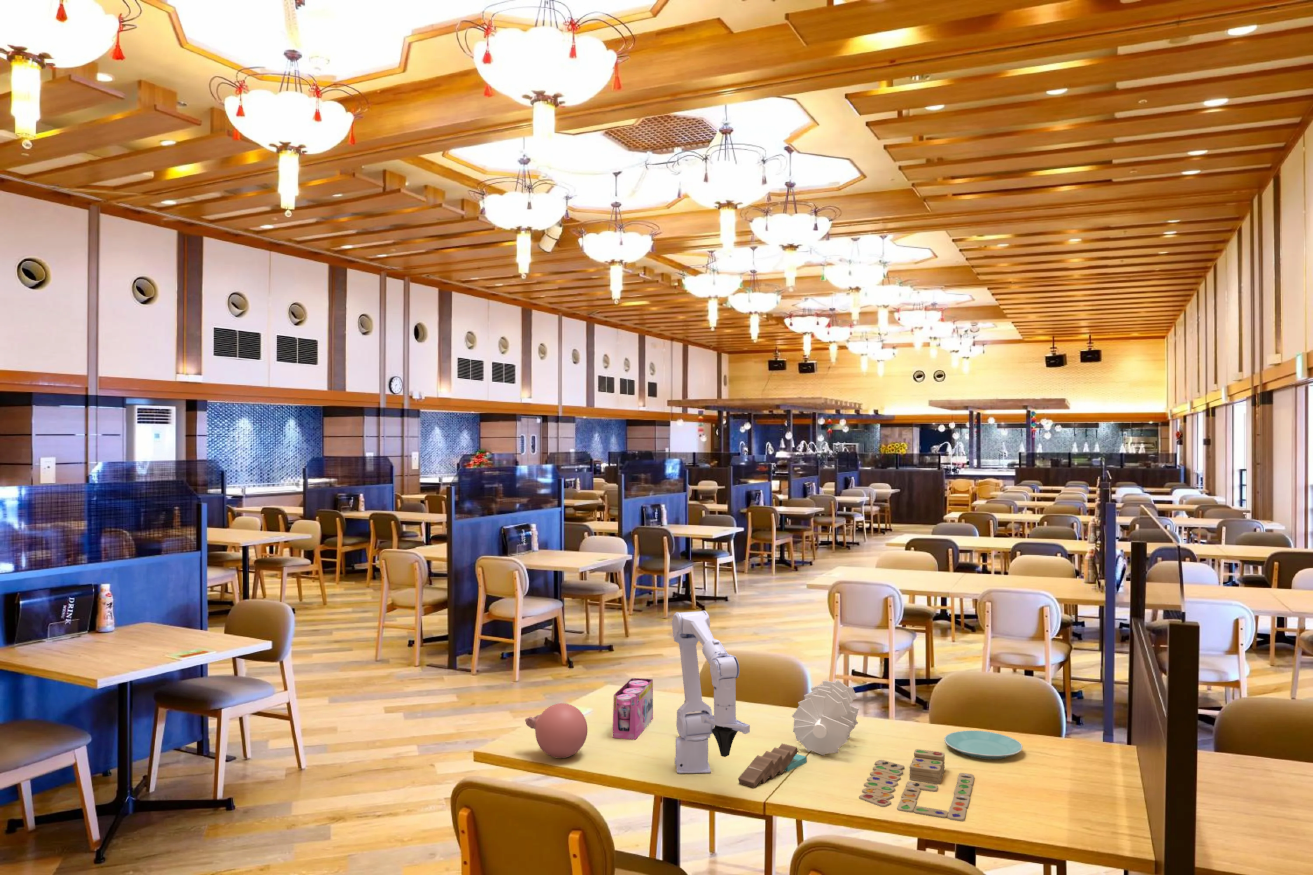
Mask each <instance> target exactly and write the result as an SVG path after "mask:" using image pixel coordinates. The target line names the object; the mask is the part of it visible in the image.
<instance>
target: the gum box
mask: <svg viewBox="0 0 1313 875" xmlns="http://www.w3.org/2000/svg"><path fill="white" fill-rule="evenodd" d="M612 706H613V707H612V708H613V709H612V710H613V711H612V738H614V739H621V738H623V740H624V739H625V740H633V739H634V741H635V740H636V739H637V738H638V737H639V736H640V735H641V733H643V731H644V730H646V728H647V727H648V726H649V725H650V724H649V723H651V722H652V721H653V720H654V682H653V678H638V677H637V678H635V677H631V678H630V679H629V680H628V681H627V682H626V683H625V684H624V685H622V687H620V688H619V689H618V690H617V691H616V692H615V693H613V704H612ZM652 719H653V720H652ZM651 720H652V721H651ZM647 725H648V726H647Z"/></svg>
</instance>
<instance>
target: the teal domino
mask: <svg viewBox="0 0 1313 875" xmlns="http://www.w3.org/2000/svg"><path fill="white" fill-rule="evenodd" d="M807 757H808V756H805V755H802V754H799V753H797V754H796V755H795V756H794V758H793V759H792V761H791V762H790V763H789V765H788V766H787V767H786V769H785V770H784V771H783V772H787V773H788V772H790V771H791V770H795V769H796V768H798V767H800V766H802V765H804V764H806V763H807V761H808V759H807Z"/></svg>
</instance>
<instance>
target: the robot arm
mask: <svg viewBox="0 0 1313 875" xmlns="http://www.w3.org/2000/svg"><path fill="white" fill-rule="evenodd" d="M671 627H672V637H673V641H674V642H675V643H677V644H678V646H679V654H680V664H681V674H682V683H683V692H684V701H685V703H684V702H683V704H682V705H681V706H680V707H678V709H677V710H676V721H675V722H676V725H675V726H676V730H677V731H676V732H677V733H678V736H677V737H675V757H674V764H675V768H676V772H677V774H701V773H702V774H704V773H705V774H708V773H709V774H710V773H712V770H711V766H710V763H709V738H711V735H713V736H714V738H715V740H716V743H717V746H718V750H719V753H720V756H721V757H723V758H726V757H729V756H730V754H731V750H732V749H731V748H732V745H733V741H734V740H735V737H736V736H737V734H738V732H739V733H742V735H743V734H744V735H746V734H749V733H750V732H751V726H750V725H751V724H747V723H745V722H743V721H741V720H738V719H737V717H736V715H737V713H736V712H737V711H736V710H737V708H736V706H737V705H736V702H737V701H736V697H737V695H736V694H737V692H736V691H737V690H736V687H737V686H736V685H737V684H736V683H737V680H736V679H738V678H739V677H740V668H741V667H740V663H739V660H738V658H737V656H736V655H732V654H729V653H728V652H727V650H726V648H725V646H724V645H723V643H722V642H721V641H720V640H719V639H717V638H715V637H714V635H713V633H712V631H711V628H710V627H711V620H710V615H709V613H708V612H707V611H706V610H699V611H685V612H684V611H683V612H679V611H676V612H675V613H674V614H673V615H672V619H671ZM698 643H700V644H701V645H702V649H701V650H702V654H703V656H704V658H705V659H706V661H707V662H708V664H709V672H710V675H711V684H712V686H713V711H712V708H711V706H710V705H709V704H707V703H705V702H704V700H703V695H702V688H701V678H700V677H701V676H700V669H699V661H698V660H699V659H698V652H697V645H698ZM702 700H703V701H702ZM693 711H701V712H702V713H693V714H687V713H688V712H693ZM679 735H680V736H681V737H679Z"/></svg>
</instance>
